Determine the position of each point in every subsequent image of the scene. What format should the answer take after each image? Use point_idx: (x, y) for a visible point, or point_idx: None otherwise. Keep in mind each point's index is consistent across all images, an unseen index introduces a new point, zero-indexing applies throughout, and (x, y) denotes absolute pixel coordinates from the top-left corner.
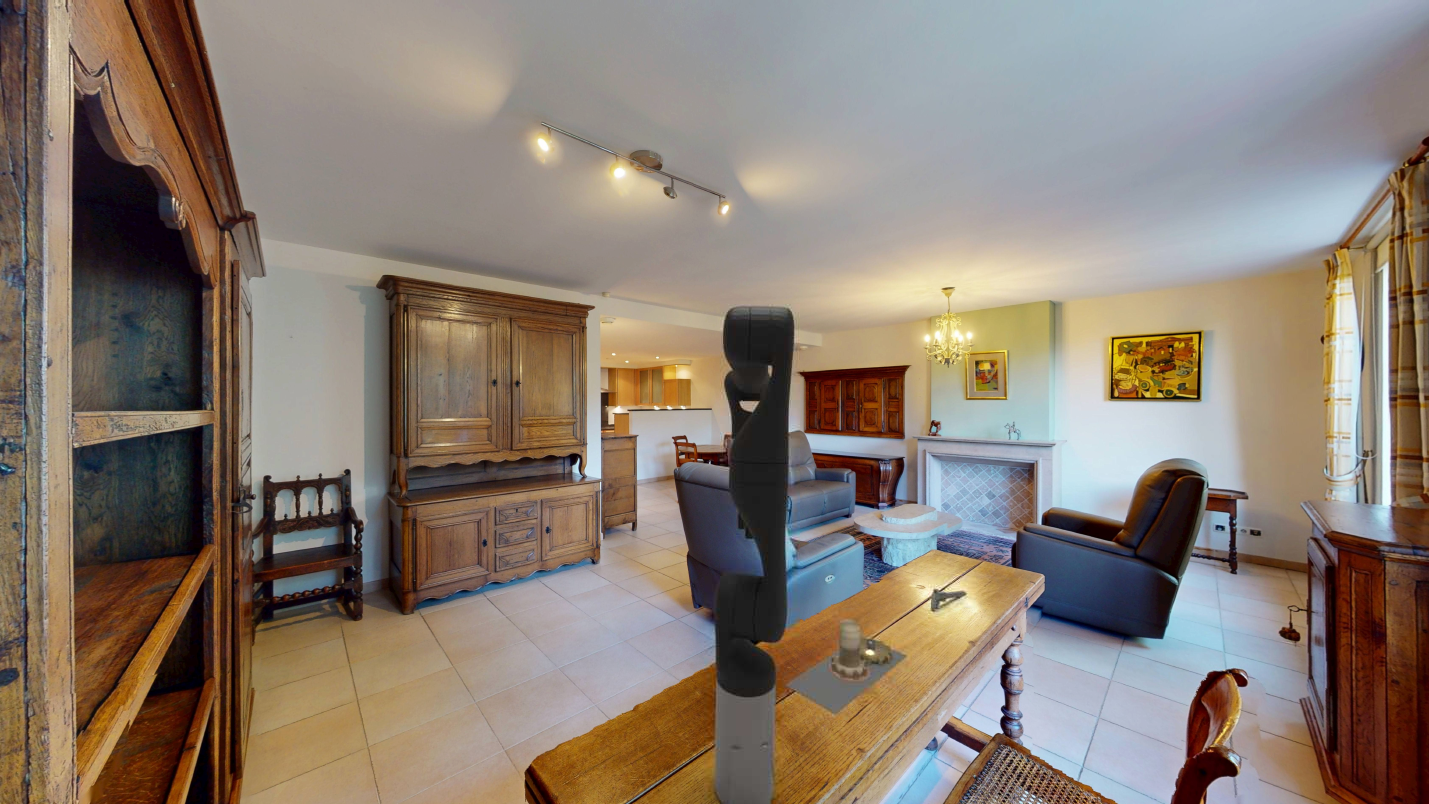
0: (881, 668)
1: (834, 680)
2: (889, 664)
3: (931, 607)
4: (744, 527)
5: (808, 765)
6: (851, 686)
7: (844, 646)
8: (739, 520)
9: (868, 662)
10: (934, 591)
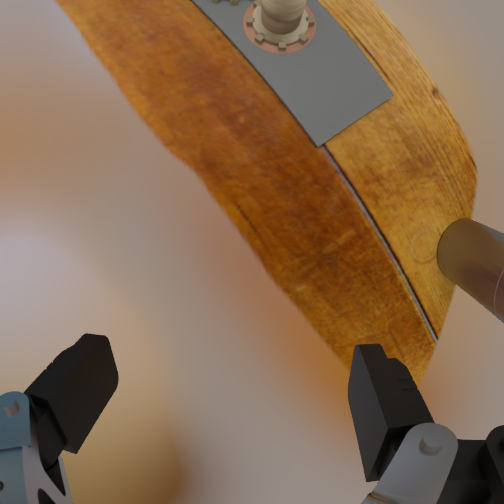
0: None
1: (310, 58)
2: None
3: None
4: (105, 354)
5: (450, 167)
6: (329, 39)
7: (297, 17)
8: (94, 411)
9: None
10: None
